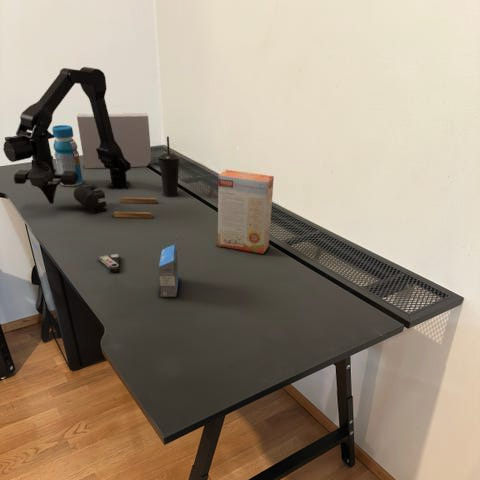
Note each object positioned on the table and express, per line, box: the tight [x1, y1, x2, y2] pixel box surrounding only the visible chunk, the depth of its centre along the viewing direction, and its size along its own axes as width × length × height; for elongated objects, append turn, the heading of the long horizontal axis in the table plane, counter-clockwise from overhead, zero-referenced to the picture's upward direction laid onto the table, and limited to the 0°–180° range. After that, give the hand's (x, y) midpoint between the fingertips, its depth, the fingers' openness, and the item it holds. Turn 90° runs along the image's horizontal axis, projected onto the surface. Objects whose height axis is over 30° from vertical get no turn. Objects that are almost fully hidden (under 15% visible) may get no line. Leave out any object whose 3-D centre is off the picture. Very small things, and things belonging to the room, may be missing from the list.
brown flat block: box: [113, 196, 158, 219], centre depth 152 cm, size 14×12×2 cm
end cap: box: [73, 184, 107, 214], centre depth 150 cm, size 10×7×7 cm
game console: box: [76, 112, 152, 169], centre depth 186 cm, size 6×27×20 cm, turn 104°
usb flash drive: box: [98, 253, 120, 273], centre depth 120 cm, size 9×5×1 cm, turn 12°
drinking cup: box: [157, 136, 181, 198], centre depth 160 cm, size 8×8×20 cm
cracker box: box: [217, 169, 274, 255], centre depth 126 cm, size 14×6×21 cm, turn 71°
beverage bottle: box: [51, 124, 84, 187], centre depth 165 cm, size 8×8×20 cm
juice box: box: [158, 234, 179, 298], centre depth 108 cm, size 9×4×12 cm, turn 3°
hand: (51, 203), depth 150 cm, fingers closed
